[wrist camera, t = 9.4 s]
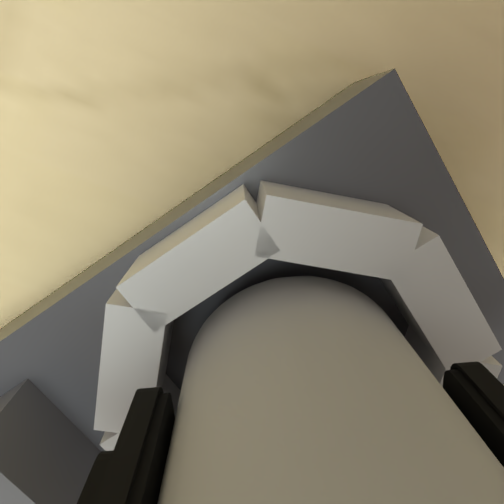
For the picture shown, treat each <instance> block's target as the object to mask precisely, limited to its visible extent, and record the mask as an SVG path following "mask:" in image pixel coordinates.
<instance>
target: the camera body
mask: <svg viewBox="0 0 504 504" xmlns="http://www.w3.org/2000/svg"><path fill="white" fill-rule="evenodd" d="M294 276H315V277H321V278H327V279H331V280H335V281H338V282H341V283H343V284H346V285H349V286H351V287H353V288H355V289H357V290H358V291H360V292H362V293H364V294H365V295H366V296H368V297H369V298H370V299H372V300H373V301H374V302H375V303H376V304H377V305H379V306H380V307H381V308H382V309H383V310H384V311H385V313H386V314H387V315H388V316H389V318H390V319H391V320H392V322H393V323H394V324H395V326H396V327H397V328H398V330H399V331H400V332H401V333H402V335H403V336H404V337H405V339H406V340H407V341H408V343H409V344H410V345H411V347H412V348H413V349H414V351H415V352H416V353H417V354H418V356H419V357H420V358H421V360H422V361H423V362H424V364H425V365H426V366H427V368H428V369H429V370H430V372H431V373H432V374H433V375H434V377H435V378H436V379H437V381H438V382H439V383H440V385H441V386H442V387H443V377H444V372H445V371H446V370H450V367H451V365H452V364H454V363H463V362H475V361H477V362H480V363H481V364H483V365H484V366H485V367H486V368H487V369H488V370H489V371H490V372H491V373H492V374H493V375H494V376H495V377H496V378H497V379H498V380H499V381H500V382H501V383H502V384H503V385H504V279H503V277H502V275H501V273H500V271H499V269H498V267H497V265H496V263H495V261H494V259H493V257H492V255H491V253H490V252H489V250H488V248H487V246H486V244H485V242H484V240H483V238H482V236H481V234H480V232H479V230H478V228H477V226H476V225H475V223H474V221H473V219H472V217H471V215H470V213H469V211H468V209H467V207H466V205H465V203H464V201H463V199H462V198H461V196H460V194H459V192H458V190H457V188H456V186H455V184H454V182H453V180H452V178H451V176H450V174H449V172H448V171H447V169H446V167H445V165H444V163H443V161H442V159H441V157H440V155H439V153H438V151H437V149H436V147H435V146H434V144H433V142H432V140H431V138H430V136H429V134H428V132H427V130H426V128H425V126H424V124H423V122H422V120H421V119H420V117H419V115H418V113H417V111H416V109H415V107H414V105H413V103H412V101H411V99H410V97H409V95H408V93H407V92H406V90H405V88H404V86H403V84H402V82H401V80H400V78H399V76H398V74H397V72H396V70H395V69H392V70H389V71H386V72H383V73H381V74H378V75H375V76H372V77H369V78H366V79H363V80H360V81H357V82H354V83H353V84H351V85H350V86H349V87H347V88H346V89H344V90H343V91H341V92H340V93H338V94H337V95H336V96H334V97H333V98H331V99H330V100H328V101H327V102H326V103H324V104H323V105H321V106H320V107H318V108H317V109H316V110H314V111H313V112H311V113H310V114H308V115H307V116H305V117H304V118H303V119H301V120H300V121H298V122H297V123H295V124H294V125H293V126H291V127H290V128H288V129H287V130H285V131H284V132H283V133H281V134H280V135H278V136H277V137H275V138H274V139H272V140H271V141H270V142H268V143H267V144H265V145H264V146H262V147H261V148H260V149H258V150H257V151H255V152H254V153H252V154H251V155H250V156H248V157H247V158H245V159H244V160H242V161H241V162H239V163H238V164H237V165H235V166H234V167H232V168H231V169H229V170H228V171H227V172H225V173H224V174H222V175H221V176H219V177H218V178H217V179H215V180H214V181H212V182H211V183H209V184H208V185H206V186H205V187H204V188H202V189H201V190H199V191H198V192H196V193H195V194H194V195H192V196H191V197H189V198H188V199H186V200H185V201H184V202H182V203H181V204H179V205H178V206H176V207H175V208H173V209H172V210H171V211H169V212H168V213H166V214H165V215H163V216H162V217H161V218H159V219H158V220H156V221H155V222H153V223H152V224H151V225H149V226H148V227H146V228H145V229H143V230H142V231H140V232H139V233H138V234H136V235H135V236H133V237H132V238H130V239H129V240H128V241H126V242H125V243H123V244H122V245H120V246H119V247H118V248H116V249H115V250H113V251H112V252H110V253H109V254H107V255H106V256H105V257H103V258H102V259H100V260H99V261H97V262H96V263H95V264H93V265H92V266H90V267H89V268H87V269H86V270H85V271H83V272H82V273H80V274H79V275H77V276H76V277H74V278H73V279H72V280H70V281H69V282H67V283H66V284H64V285H63V286H62V287H60V288H59V289H57V290H56V291H54V292H53V293H51V294H50V295H49V296H47V297H46V298H44V299H43V300H41V301H40V302H39V303H37V304H36V305H34V306H33V307H31V308H30V309H29V310H27V311H26V312H24V313H23V314H21V315H20V316H18V317H17V318H16V319H14V320H13V321H11V322H10V323H8V324H7V325H6V326H4V327H3V328H1V329H0V504H77V502H78V499H79V497H80V494H81V492H82V490H83V487H84V485H85V483H86V480H87V478H88V475H89V473H90V471H91V468H92V466H93V464H94V461H95V459H96V457H97V456H98V454H99V453H100V452H101V451H112V450H114V448H115V445H116V442H117V440H118V437H119V434H120V432H121V429H122V426H123V424H124V421H125V419H126V416H127V413H128V411H129V408H130V405H131V403H132V400H133V397H134V395H135V392H136V390H137V389H140V388H153V387H162V389H163V392H164V393H169V392H170V393H171V396H172V402H173V408H174V415H175V416H176V412H177V407H178V402H179V397H180V392H181V387H182V383H183V378H184V373H185V368H186V363H187V359H188V355H189V352H190V349H191V346H192V344H193V341H194V339H195V337H196V335H197V333H198V331H199V330H200V328H201V327H202V325H203V324H204V322H205V321H206V320H207V318H208V317H209V316H210V315H211V314H212V313H213V312H214V311H215V310H216V309H217V308H218V307H219V306H220V305H221V304H223V303H224V302H225V301H226V300H228V299H229V298H231V297H232V296H233V295H235V294H237V293H238V292H240V291H242V290H244V289H246V288H248V287H250V286H252V285H255V284H258V283H261V282H264V281H267V280H270V279H275V278H282V277H294Z"/></svg>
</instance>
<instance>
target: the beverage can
mask: <svg viewBox="0 0 504 504" xmlns="http://www.w3.org/2000/svg"><path fill="white" fill-rule="evenodd" d="M157 504H504V467H503V466H502V465H501V463H500V462H499V461H498V459H497V458H496V457H495V455H494V454H493V453H492V452H491V450H490V449H489V448H488V446H487V445H486V444H485V442H484V441H483V440H482V438H481V437H480V436H479V434H478V433H477V432H476V431H475V429H474V428H473V427H472V425H471V424H470V423H469V421H468V420H467V419H466V417H465V416H464V415H463V413H462V412H461V411H460V410H459V408H458V407H457V406H456V404H455V403H454V402H453V400H452V399H451V398H450V396H449V395H448V394H447V393H446V391H445V390H444V389H443V387H442V386H441V385H440V383H439V382H438V381H437V379H436V378H435V377H434V375H433V374H432V373H431V372H430V370H429V369H428V368H427V366H426V365H425V364H424V362H423V361H422V360H421V358H420V357H419V356H418V354H417V353H416V352H415V351H414V349H413V348H412V347H411V345H410V344H409V343H408V341H407V340H406V339H405V337H404V336H403V335H402V333H401V332H400V331H399V330H398V328H397V327H396V326H395V324H394V323H393V322H392V320H391V319H390V318H389V316H388V315H387V314H386V313H385V311H384V310H383V309H382V308H381V307H380V306H379V305H377V304H376V303H375V302H374V301H373V300H372V299H370V298H369V297H368V296H366V295H365V294H364V293H362V292H360V291H358V290H357V289H355V288H353V287H351V286H349V285H346V284H343V283H341V282H338V281H335V280H331V279H327V278H321V277H315V276H294V277H282V278H275V279H270V280H267V281H264V282H261V283H258V284H255V285H252V286H250V287H248V288H246V289H244V290H242V291H240V292H238V293H237V294H235V295H233V296H232V297H231V298H229V299H228V300H226V301H225V302H224V303H223V304H221V305H220V306H219V307H218V308H217V309H216V310H215V311H214V312H213V313H212V314H211V315H210V316H209V317H208V318H207V320H206V321H205V322H204V324H203V325H202V327H201V328H200V330H199V331H198V333H197V335H196V337H195V339H194V341H193V344H192V346H191V349H190V352H189V355H188V359H187V363H186V368H185V373H184V378H183V383H182V387H181V392H180V397H179V402H178V407H177V412H176V416H175V421H174V426H173V431H172V436H171V440H170V445H169V450H168V455H167V460H166V464H165V469H164V474H163V479H162V484H161V488H160V493H159V498H158V503H157Z"/></svg>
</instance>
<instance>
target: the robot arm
mask: <svg viewBox="0 0 504 504" xmlns="http://www.w3.org/2000/svg"><path fill="white" fill-rule="evenodd" d="M443 389H444V390H445V391H446V393H447V394H448V395H449V396H450V398H451V399H452V400H453V402H454V403H455V404H456V406H457V407H458V408H459V410H460V411H461V412H462V413H463V415H464V416H465V417H466V419H467V420H468V421H469V423H470V424H471V425H472V427H473V428H474V429H475V431H476V432H477V433H478V434H479V436H480V437H481V438H482V440H483V441H484V442H485V444H486V445H487V446H488V448H489V449H490V450H491V452H492V453H493V454H494V455H495V457H496V458H497V459H498V461H499V462H500V463H501V465H502V466H503V467H504V385H503V384H502V383H501V382H500V381H499V380H498V379H497V378H496V377H495V376H494V375H493V374H492V373H491V372H490V371H489V370H488V369H487V368H486V367H485V366H484V365H483V364H481V363H480V362H477V361H475V362H463V363H454V364H452V365H451V367H450V370H446V371H445V372H444V377H443ZM174 421H175V415H174V408H173V402H172V396H171V393H170V392H169V393H164V392H163V389H162V387H153V388H140V389H137V390H136V392H135V395H134V397H133V400H132V403H131V405H130V408H129V411H128V413H127V416H126V419H125V421H124V424H123V426H122V429H121V432H120V434H119V437H118V440H117V442H116V445H115V448H114V450H112V451H101V452H100V453H99V454H98V456H97V457H96V459H95V461H94V464H93V466H92V468H91V471H90V473H89V475H88V478H87V480H86V483H85V485H84V487H83V490H82V492H81V494H80V497H79V499H78V502H77V504H157V503H158V498H159V493H160V488H161V484H162V479H163V474H164V469H165V464H166V460H167V455H168V450H169V445H170V440H171V436H172V431H173V426H174Z"/></svg>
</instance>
